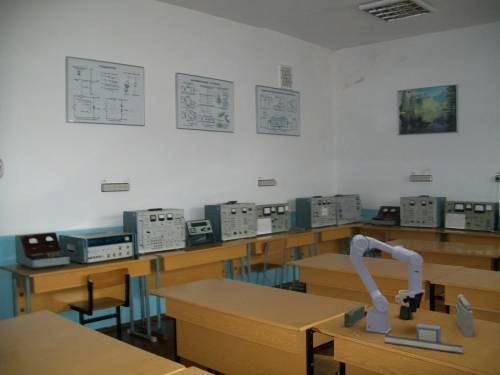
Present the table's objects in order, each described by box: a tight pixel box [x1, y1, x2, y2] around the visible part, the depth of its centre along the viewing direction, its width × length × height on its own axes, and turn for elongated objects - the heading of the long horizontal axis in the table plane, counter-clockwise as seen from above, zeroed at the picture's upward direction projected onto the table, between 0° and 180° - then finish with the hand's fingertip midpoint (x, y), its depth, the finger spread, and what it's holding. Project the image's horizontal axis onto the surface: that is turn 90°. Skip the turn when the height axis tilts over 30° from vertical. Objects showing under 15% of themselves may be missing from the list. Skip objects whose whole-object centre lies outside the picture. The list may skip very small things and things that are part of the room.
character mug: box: [394, 289, 414, 320], centre depth 253 cm, size 11×7×13 cm, turn 98°
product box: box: [415, 323, 442, 342], centre depth 217 cm, size 5×9×7 cm, turn 61°
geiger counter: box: [454, 294, 475, 338], centre depth 236 cm, size 14×6×25 cm
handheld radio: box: [343, 303, 368, 328], centre depth 250 cm, size 7×3×25 cm
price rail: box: [384, 334, 464, 355], centre depth 211 cm, size 30×2×3 cm, turn 61°
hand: (415, 310), depth 232 cm, fingers open, 7 cm apart
